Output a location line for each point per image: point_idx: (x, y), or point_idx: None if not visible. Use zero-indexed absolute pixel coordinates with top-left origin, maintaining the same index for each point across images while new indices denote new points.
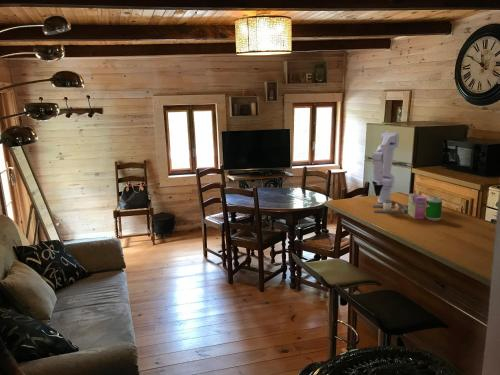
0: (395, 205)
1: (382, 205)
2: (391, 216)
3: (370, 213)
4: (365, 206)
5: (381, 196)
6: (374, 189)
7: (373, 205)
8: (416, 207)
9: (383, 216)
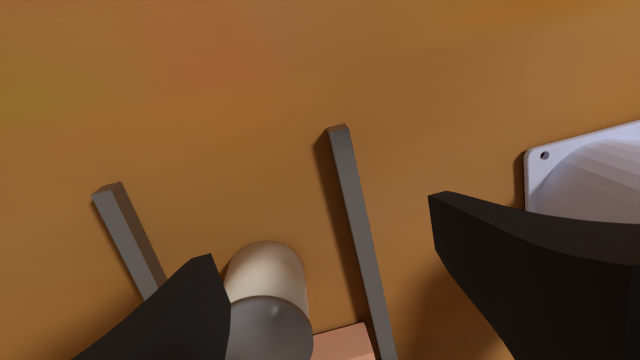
0: (350, 346)
1: (355, 228)
2: (52, 347)
3: (36, 156)
4: (331, 35)
5: (600, 199)
6: (463, 213)
7: (329, 138)
8: None
9: (3, 292)
